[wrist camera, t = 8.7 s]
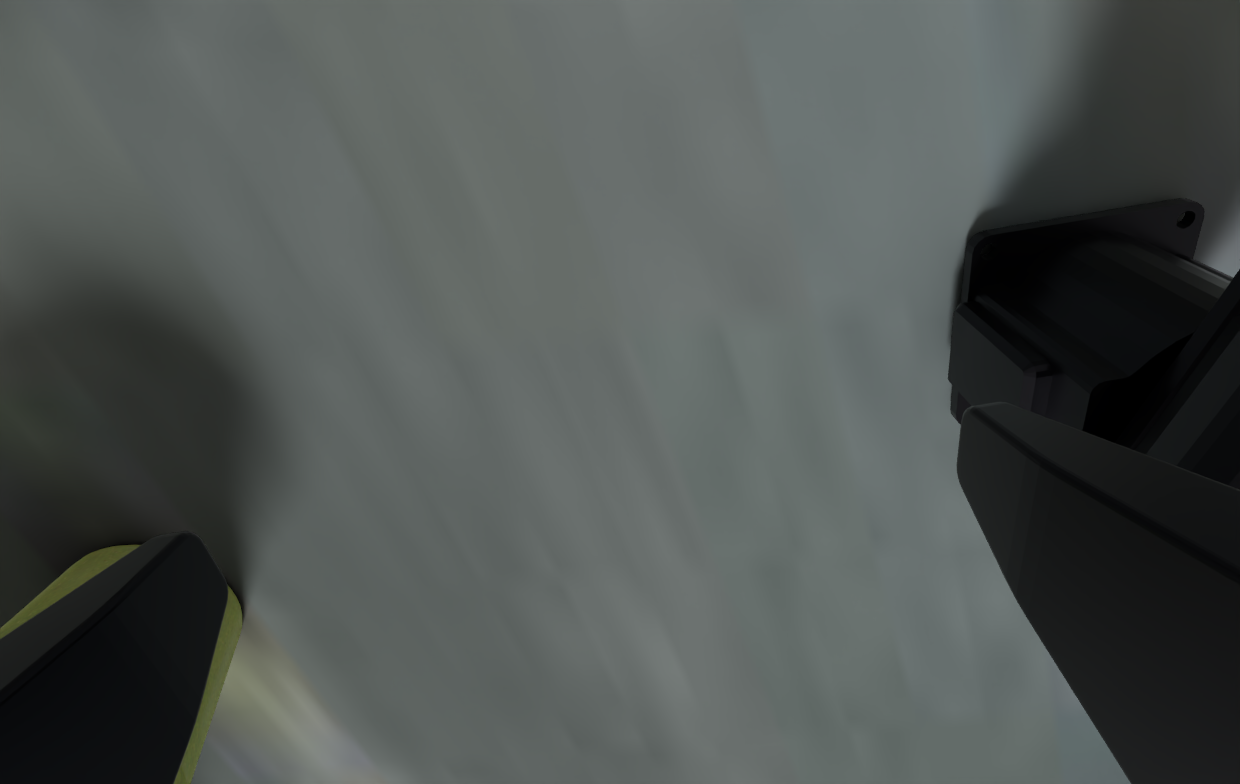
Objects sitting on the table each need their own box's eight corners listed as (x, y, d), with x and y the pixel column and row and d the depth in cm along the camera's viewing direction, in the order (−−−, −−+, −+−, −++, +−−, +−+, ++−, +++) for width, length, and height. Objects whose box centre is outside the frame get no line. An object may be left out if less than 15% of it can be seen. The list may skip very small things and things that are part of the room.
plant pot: (-39, 513, 24) (-320, 759, 16) (244, 492, 24) (94, 726, 17) (83, 694, 29) (-91, 949, 21) (319, 675, 29) (229, 922, 21)
